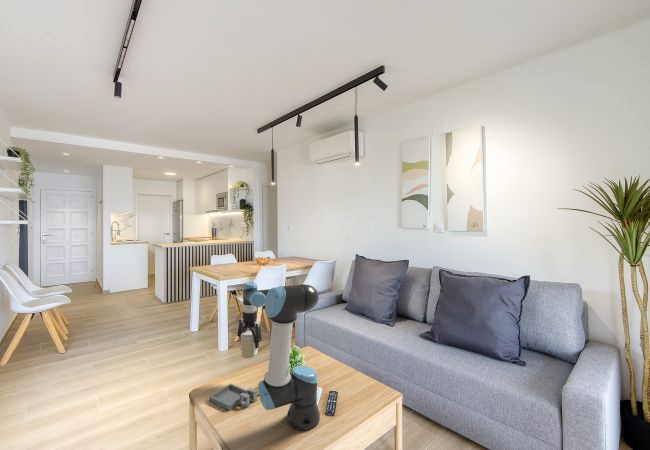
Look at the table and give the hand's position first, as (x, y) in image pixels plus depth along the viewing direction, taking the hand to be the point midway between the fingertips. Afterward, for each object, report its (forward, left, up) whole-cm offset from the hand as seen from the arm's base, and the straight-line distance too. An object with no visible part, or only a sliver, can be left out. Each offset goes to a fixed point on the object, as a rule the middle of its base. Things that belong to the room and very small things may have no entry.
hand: (249, 351), depth 169 cm
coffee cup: (0, 0, -2) cm, 2 cm away
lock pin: (-13, +5, -16) cm, 21 cm away
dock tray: (-5, +16, -18) cm, 24 cm away
